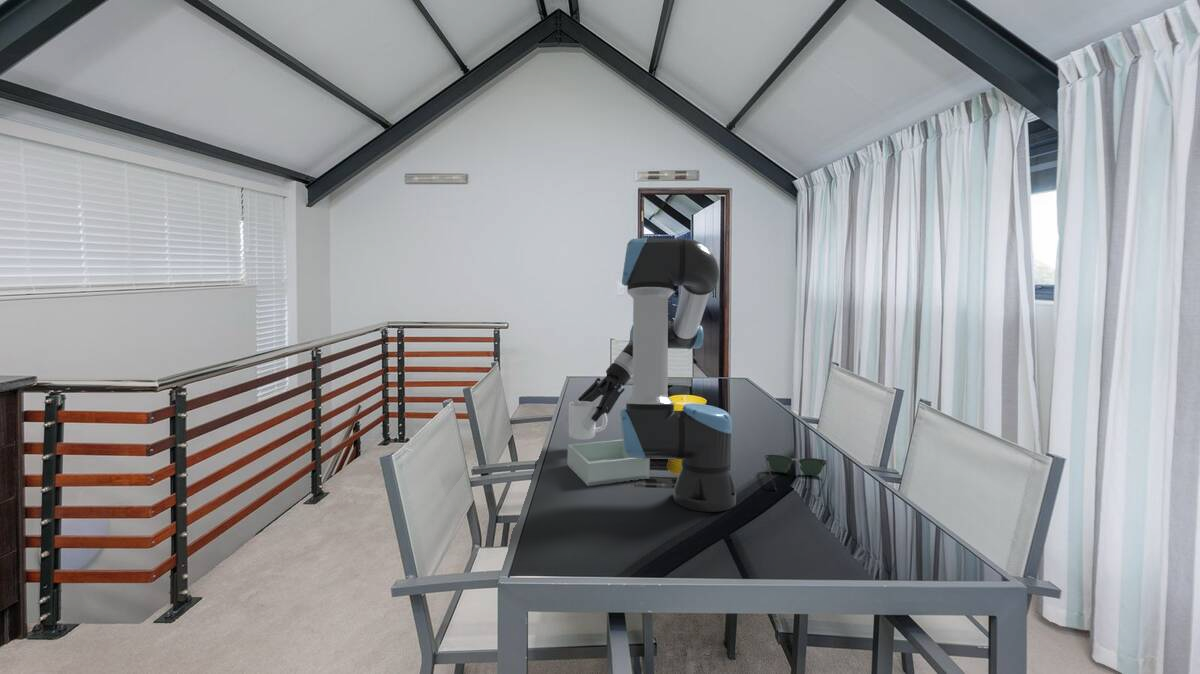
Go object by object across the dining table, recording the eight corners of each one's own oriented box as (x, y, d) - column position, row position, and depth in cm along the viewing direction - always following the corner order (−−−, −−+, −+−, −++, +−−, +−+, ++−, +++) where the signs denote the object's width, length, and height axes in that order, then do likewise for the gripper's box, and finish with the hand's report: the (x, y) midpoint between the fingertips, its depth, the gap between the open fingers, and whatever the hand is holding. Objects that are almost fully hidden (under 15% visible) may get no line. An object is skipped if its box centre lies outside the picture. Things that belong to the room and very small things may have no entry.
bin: (649, 478, 159) (649, 456, 158) (588, 486, 153) (588, 463, 152) (623, 458, 175) (624, 439, 175) (567, 465, 169) (567, 444, 168)
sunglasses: (763, 491, 152) (764, 472, 151) (764, 470, 168) (765, 453, 167) (832, 499, 147) (833, 479, 147) (825, 476, 163) (826, 459, 163)
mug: (608, 434, 185) (609, 401, 184) (605, 441, 177) (605, 407, 176) (571, 432, 187) (571, 400, 186) (566, 439, 179) (566, 405, 178)
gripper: (648, 382, 180) (602, 440, 173) (611, 372, 198) (568, 424, 191) (634, 366, 177) (587, 424, 170) (597, 358, 195) (554, 410, 188)
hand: (577, 424), depth 181 cm, fingers closed on mug, 9 cm apart
